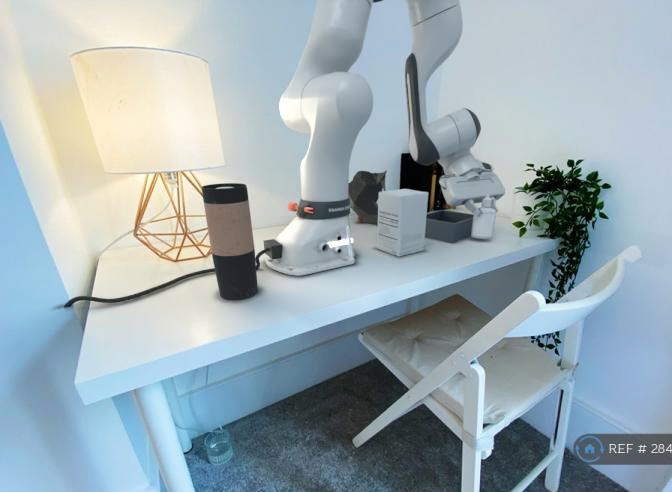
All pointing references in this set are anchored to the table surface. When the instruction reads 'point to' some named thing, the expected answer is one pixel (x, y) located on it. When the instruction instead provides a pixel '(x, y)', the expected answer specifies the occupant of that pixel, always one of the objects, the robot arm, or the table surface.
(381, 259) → the table surface
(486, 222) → the eye dropper bottle
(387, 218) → the white product box
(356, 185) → the dark grey faceted sculpture
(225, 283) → the travel mug
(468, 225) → the grey open rectangular box
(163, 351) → the table surface
